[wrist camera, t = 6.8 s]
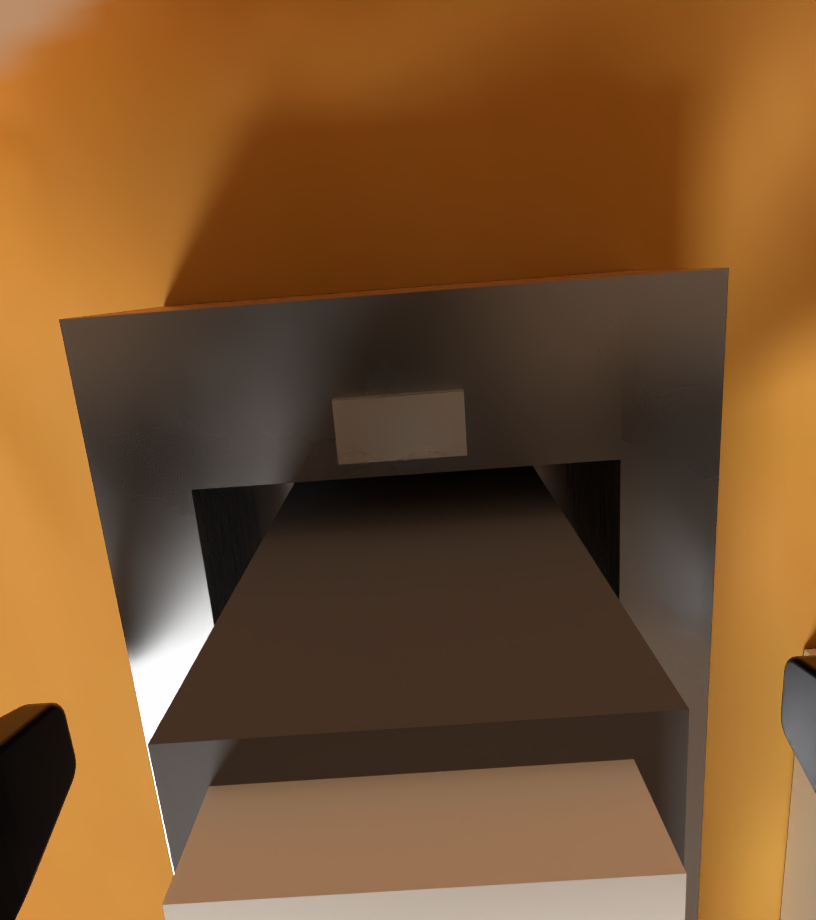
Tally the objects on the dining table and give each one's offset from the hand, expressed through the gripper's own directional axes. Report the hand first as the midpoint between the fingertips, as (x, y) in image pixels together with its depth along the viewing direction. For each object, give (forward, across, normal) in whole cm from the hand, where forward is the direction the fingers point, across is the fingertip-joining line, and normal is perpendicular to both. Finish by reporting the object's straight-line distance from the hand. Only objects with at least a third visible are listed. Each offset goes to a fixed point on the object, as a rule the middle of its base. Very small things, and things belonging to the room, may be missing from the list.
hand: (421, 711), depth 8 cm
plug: (+4, 0, 0) cm, 4 cm away
